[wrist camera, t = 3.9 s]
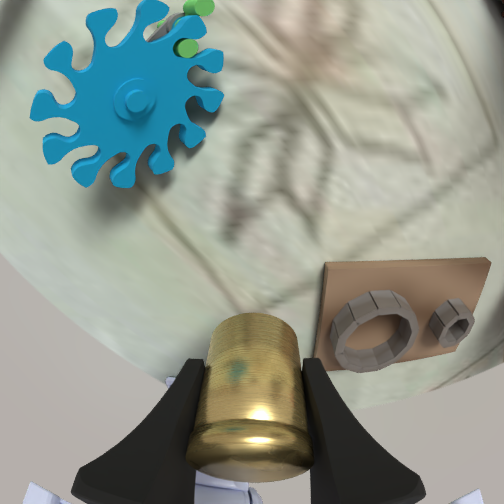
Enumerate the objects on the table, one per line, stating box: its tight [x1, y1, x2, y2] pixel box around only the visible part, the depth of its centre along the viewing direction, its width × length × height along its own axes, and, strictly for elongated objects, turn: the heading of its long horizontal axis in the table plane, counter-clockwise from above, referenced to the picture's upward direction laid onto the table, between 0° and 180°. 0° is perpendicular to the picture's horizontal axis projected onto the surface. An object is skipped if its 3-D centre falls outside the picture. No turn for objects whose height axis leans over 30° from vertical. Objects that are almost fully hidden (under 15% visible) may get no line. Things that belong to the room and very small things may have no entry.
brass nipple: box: [186, 313, 314, 483], centre depth 10 cm, size 4×4×6 cm
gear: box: [30, 0, 224, 188], centre depth 12 cm, size 11×6×10 cm
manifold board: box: [313, 257, 491, 373], centre depth 19 cm, size 10×15×3 cm, turn 92°
